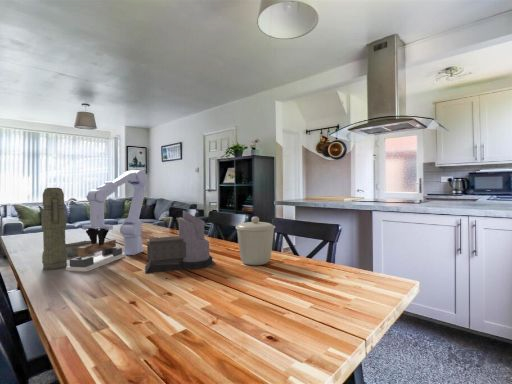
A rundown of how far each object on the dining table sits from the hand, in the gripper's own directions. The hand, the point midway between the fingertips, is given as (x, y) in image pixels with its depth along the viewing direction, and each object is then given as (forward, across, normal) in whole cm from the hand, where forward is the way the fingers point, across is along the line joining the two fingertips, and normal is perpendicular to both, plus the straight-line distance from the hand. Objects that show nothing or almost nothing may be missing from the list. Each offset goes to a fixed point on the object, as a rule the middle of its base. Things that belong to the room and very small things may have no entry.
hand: (97, 244), depth 130 cm
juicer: (+9, +40, +2) cm, 41 cm away
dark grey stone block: (+9, -25, +11) cm, 28 cm away
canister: (+9, +72, +12) cm, 73 cm away
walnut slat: (+3, 0, 0) cm, 3 cm away
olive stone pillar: (+9, -14, -9) cm, 19 cm away
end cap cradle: (+8, 0, 0) cm, 8 cm away
